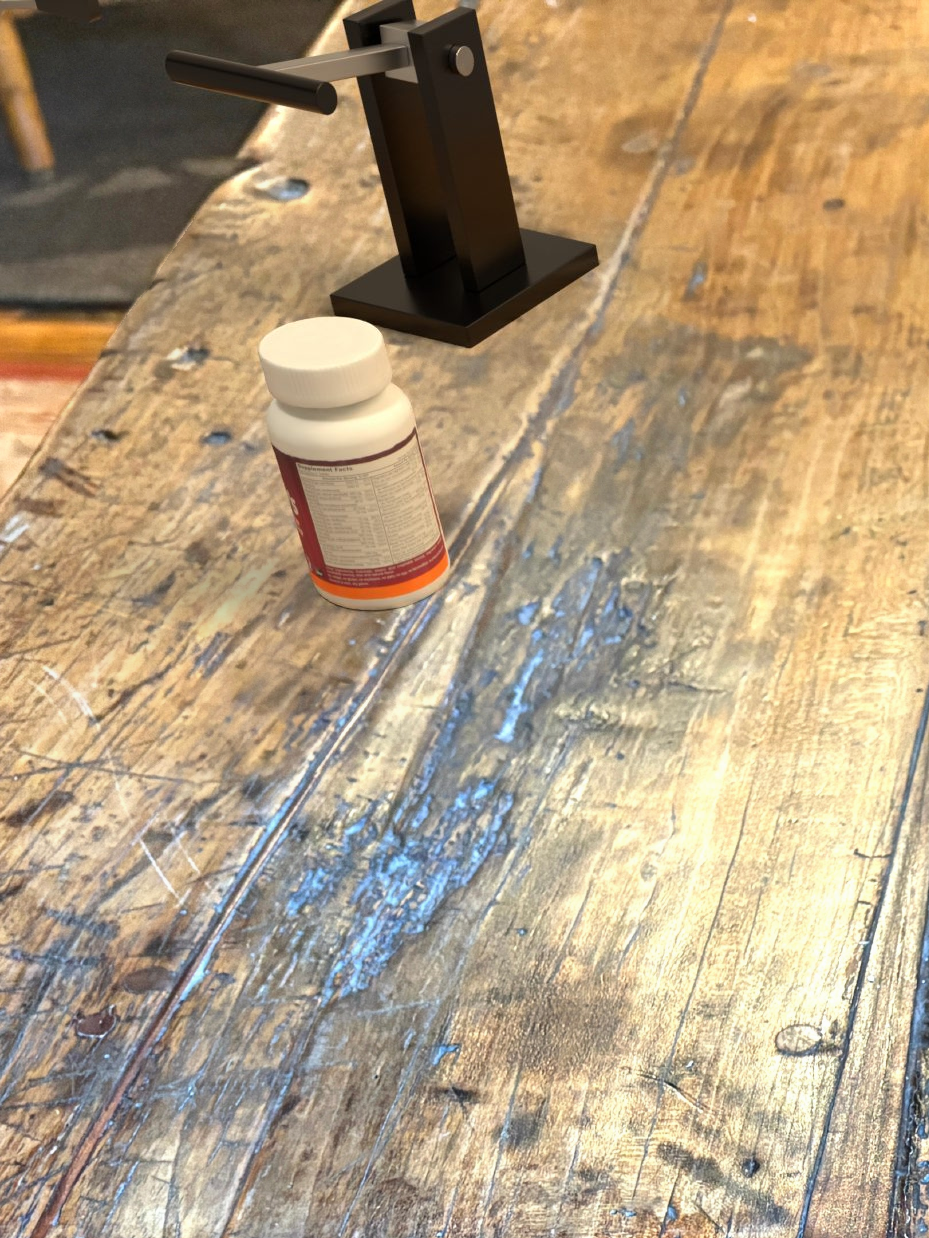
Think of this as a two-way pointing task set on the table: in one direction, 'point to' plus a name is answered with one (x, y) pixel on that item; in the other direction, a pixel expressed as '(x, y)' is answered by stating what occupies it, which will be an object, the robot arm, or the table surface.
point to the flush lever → (299, 72)
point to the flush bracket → (448, 193)
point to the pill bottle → (352, 465)
